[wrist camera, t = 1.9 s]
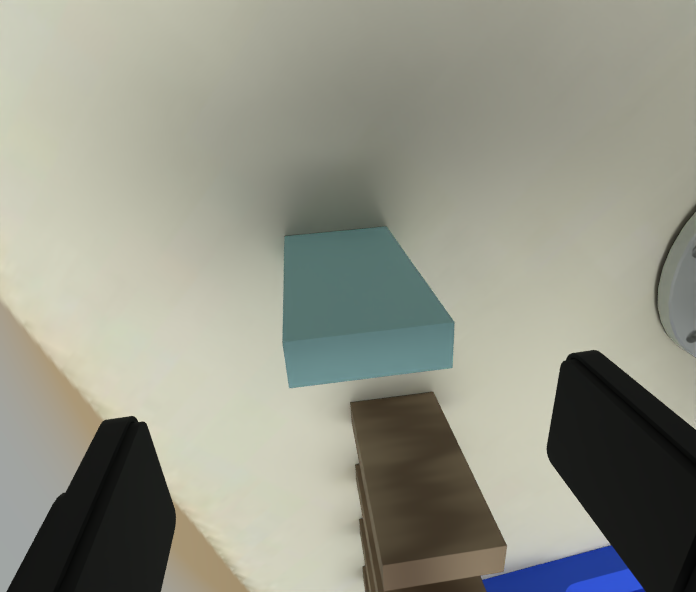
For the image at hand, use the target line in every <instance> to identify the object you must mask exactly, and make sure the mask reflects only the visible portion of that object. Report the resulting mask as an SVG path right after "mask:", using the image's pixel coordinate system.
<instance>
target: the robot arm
mask: <svg viewBox="0 0 696 592" xmlns="http://www.w3.org/2000/svg"><path fill="white" fill-rule="evenodd" d="M658 310H659V315H660V319H661V323H662V325H663V327H664V329H665V331H666V333H667V335H668V336H669V337H670V338H671V339H672V340H673V341H674V342H675V344H676V345H677V346H679V347H680V348H682V349H684V350H685V351H686V352H688V353H689V354H691V355H692V356H694V357H696V212H695V213H694V214H693V216H692V217H691V218H690V219H689V221H688V222H687V223H686V224H685V226H684V227H683V229H682V230H681V232H680V234H679V235H678V237H677V239H676V240H675V242H674V244H673V245H672V247H671V250H670V252H669V254H668V257H667V259H666V262H665V264H664V266H663V270H662V274H661V278H660V283H659V287H658ZM547 454H548V458H549V460H550V462H551V464H552V465H553V467H554V468H555V469H556V471H557V472H558V473H559V475H560V476H561V477H562V479H563V480H564V481H565V483H566V484H567V486H568V487H569V488H570V490H571V491H572V492H573V494H574V495H575V496H576V498H577V499H578V500H579V502H580V503H581V505H582V506H583V507H584V509H585V510H586V511H587V513H588V514H589V515H590V517H591V518H592V519H593V521H594V522H595V524H596V525H597V526H598V528H599V529H600V530H601V532H602V533H603V534H604V536H605V537H606V538H607V540H608V541H609V543H610V544H611V545H612V547H613V548H614V549H615V551H616V552H617V553H618V555H619V556H620V558H621V559H622V560H623V562H624V563H625V564H626V566H627V567H628V568H629V570H630V571H631V572H632V574H633V575H634V577H635V578H636V579H637V581H638V582H639V583H640V585H641V586H642V587H643V589H644V590H645V591H646V592H696V430H695V429H694V428H693V427H692V426H690V425H689V424H688V423H687V422H685V421H684V420H683V419H682V418H681V417H679V416H678V415H677V414H676V413H674V412H673V411H672V410H671V409H669V408H668V407H667V406H666V405H665V404H663V403H662V402H661V401H660V400H658V399H657V398H656V397H655V396H653V395H652V394H651V393H650V392H649V391H647V390H646V389H645V388H644V387H642V386H641V385H640V384H639V383H637V382H636V381H635V380H634V379H633V378H631V377H630V376H629V375H628V374H626V373H625V372H624V371H623V370H622V369H620V368H619V367H618V366H617V365H615V364H614V363H613V362H612V361H610V360H609V359H608V358H607V357H606V356H604V355H603V354H602V353H600V352H599V351H596V350H591V351H584V352H577V353H572V354H569V355H568V357H567V359H566V361H563V362H562V363H561V367H560V372H559V378H558V384H557V390H556V396H555V402H554V407H553V413H552V419H551V425H550V431H549V437H548V442H547ZM175 524H176V514H175V508H174V505H173V502H172V499H171V496H170V493H169V490H168V487H167V484H166V481H165V478H164V475H163V472H162V469H161V466H160V463H159V460H158V457H157V454H156V451H155V448H154V445H153V441H152V438H151V435H150V432H149V429H148V426H147V424H146V423H145V422H138V420H137V419H136V418H135V417H134V416H129V417H122V418H115V419H108V420H104V421H103V422H102V423H101V425H100V426H99V428H98V430H97V432H96V434H95V437H94V438H93V440H92V442H91V444H90V446H89V448H88V450H87V452H86V454H85V456H84V458H83V460H82V462H81V464H80V466H79V467H78V470H77V471H76V473H75V475H74V477H73V479H72V481H71V483H70V485H69V487H68V489H67V491H66V493H62V494H61V495H60V496H59V497H58V498H57V499H56V501H55V502H54V503H53V505H52V507H51V509H50V511H49V512H48V514H47V516H46V518H45V520H44V522H43V524H42V526H41V528H40V529H39V531H38V533H37V535H36V537H35V539H34V541H33V543H32V545H31V546H30V548H29V550H28V552H27V554H26V556H25V558H24V560H23V562H22V563H21V565H20V567H19V569H18V571H17V573H16V575H15V577H14V579H13V580H12V582H11V584H10V586H9V588H8V590H7V592H161V588H162V584H163V579H164V575H165V570H166V566H167V561H168V557H169V553H170V548H171V544H172V539H173V535H174V530H175Z"/></svg>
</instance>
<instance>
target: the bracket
mask: <svg viewBox="0 0 696 592" xmlns="http://www.w3.org/2000/svg"><path fill="white" fill-rule="evenodd" d="M482 581H483V584H484V587H485V589H486V592H646V591H645V590H644V589H643V587H642V586H641V585H640V583H639V582H638V581H637V579H636V578H635V577H634V575H633V574H632V572H631V571H630V570H629V568H628V567H627V566H626V564H625V563H624V562H623V560H622V559H621V558H620V556H619V555H618V553H617V552H616V551H615V549H614V548H613V547H612V545H611V546H607V547H603V548H599V549H596V550H592V551H588V552H585V553H581V554H577V555H573V556H570V557H566V558H562V559H559V560H555V561H551V562H547V563H544V564H540V565H536V566H532V567H529V568H525V569H521V570H518V571H514V572H510V573H506V574H503V575H499V576H495V577H492V578H488V579H484V580H482Z"/></svg>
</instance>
